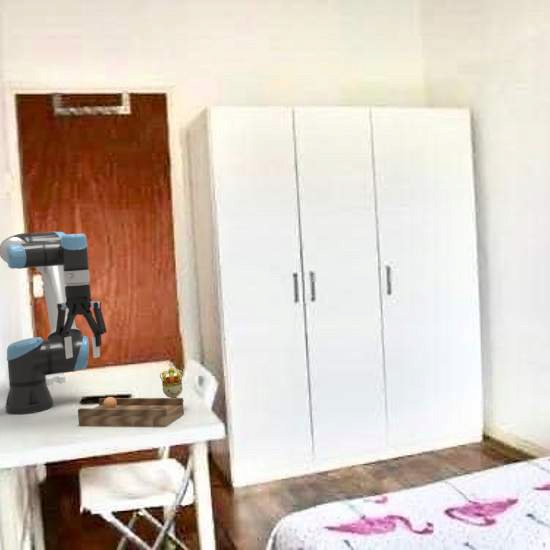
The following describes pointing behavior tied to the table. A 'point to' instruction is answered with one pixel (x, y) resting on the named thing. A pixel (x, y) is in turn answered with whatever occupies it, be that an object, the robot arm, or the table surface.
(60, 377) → the slotted bracket
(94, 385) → the table surface
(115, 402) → the ball
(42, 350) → the robot arm
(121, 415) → the brown wooden tray
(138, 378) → the table surface
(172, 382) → the toy
